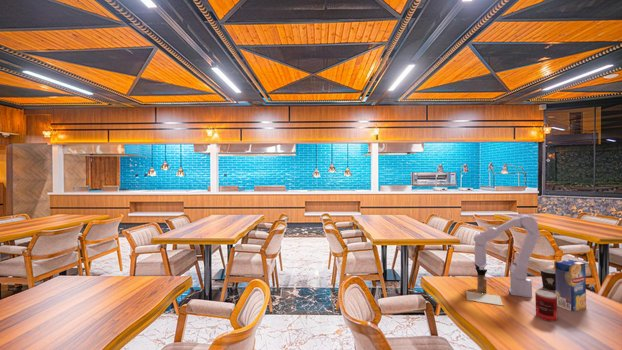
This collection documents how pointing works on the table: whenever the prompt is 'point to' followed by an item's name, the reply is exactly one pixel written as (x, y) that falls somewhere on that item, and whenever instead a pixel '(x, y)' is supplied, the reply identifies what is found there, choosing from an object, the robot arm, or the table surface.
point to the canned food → (546, 305)
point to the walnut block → (481, 284)
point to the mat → (484, 298)
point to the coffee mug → (548, 279)
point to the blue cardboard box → (570, 284)
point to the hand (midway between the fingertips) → (480, 278)
